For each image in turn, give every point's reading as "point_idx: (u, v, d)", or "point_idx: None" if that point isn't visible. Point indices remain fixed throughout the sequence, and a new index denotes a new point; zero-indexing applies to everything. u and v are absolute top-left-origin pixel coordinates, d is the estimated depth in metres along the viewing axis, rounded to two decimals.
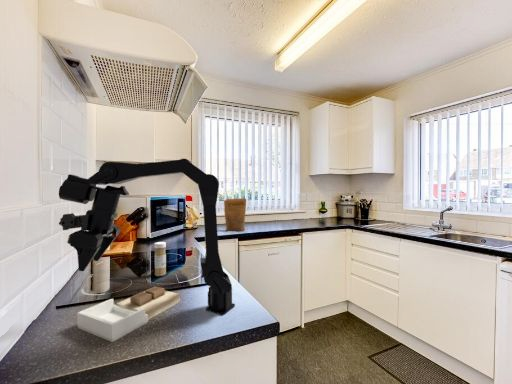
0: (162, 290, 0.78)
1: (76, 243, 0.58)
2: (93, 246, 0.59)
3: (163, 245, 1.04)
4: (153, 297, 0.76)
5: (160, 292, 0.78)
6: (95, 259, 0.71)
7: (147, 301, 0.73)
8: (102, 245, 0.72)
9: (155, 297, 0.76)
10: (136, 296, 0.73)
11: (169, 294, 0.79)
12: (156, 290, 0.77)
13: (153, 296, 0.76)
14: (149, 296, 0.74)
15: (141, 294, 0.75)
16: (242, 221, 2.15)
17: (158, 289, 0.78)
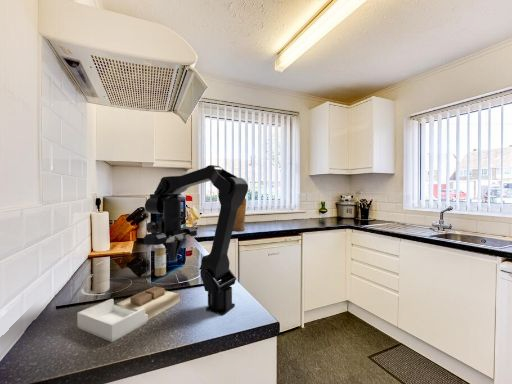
0: (162, 290, 0.78)
1: (147, 242, 0.77)
2: (155, 244, 0.75)
3: (163, 245, 1.04)
4: (153, 297, 0.76)
5: (160, 292, 0.78)
6: None
7: (147, 301, 0.73)
8: None
9: (155, 297, 0.76)
10: (136, 296, 0.73)
11: (169, 294, 0.79)
12: (156, 290, 0.77)
13: (153, 296, 0.76)
14: (149, 296, 0.74)
15: (141, 294, 0.75)
16: (242, 221, 2.15)
17: (158, 289, 0.78)
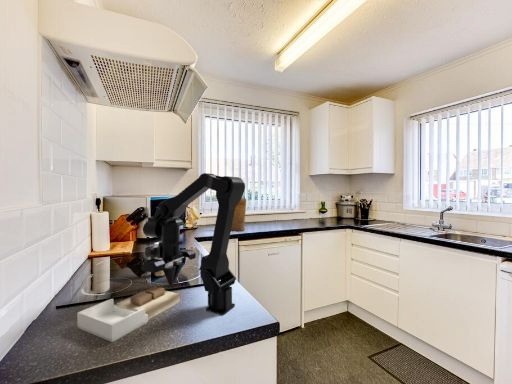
0: (162, 290, 0.78)
1: (145, 269, 0.76)
2: (154, 271, 0.75)
3: None
4: (153, 297, 0.76)
5: (160, 292, 0.78)
6: None
7: (147, 301, 0.73)
8: None
9: (155, 297, 0.76)
10: (136, 296, 0.73)
11: (169, 294, 0.79)
12: (156, 290, 0.77)
13: (153, 296, 0.76)
14: (149, 296, 0.74)
15: (141, 294, 0.75)
16: (242, 221, 2.15)
17: (158, 289, 0.78)
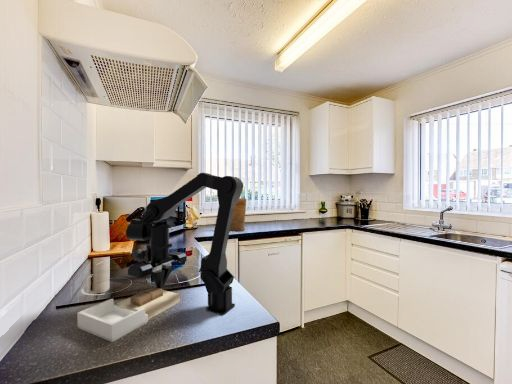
0: (160, 291, 0.78)
1: (131, 274, 0.72)
2: (140, 276, 0.71)
3: None
4: None
5: (158, 293, 0.77)
6: None
7: (147, 301, 0.73)
8: None
9: (153, 298, 0.75)
10: (136, 296, 0.73)
11: (169, 294, 0.79)
12: (154, 291, 0.77)
13: None
14: (149, 296, 0.74)
15: (141, 294, 0.75)
16: (242, 221, 2.15)
17: (156, 290, 0.78)
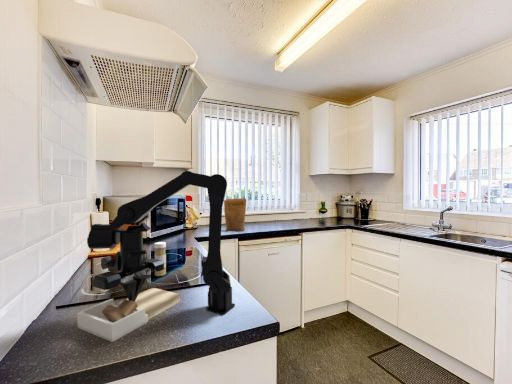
0: (133, 304, 0.69)
1: (96, 286, 0.63)
2: (105, 288, 0.62)
3: (163, 245, 1.04)
4: None
5: (131, 308, 0.69)
6: None
7: (119, 312, 0.65)
8: None
9: None
10: (110, 319, 0.66)
11: (169, 294, 0.79)
12: (126, 308, 0.68)
13: (125, 316, 0.67)
14: (115, 315, 0.64)
15: (107, 316, 0.65)
16: (242, 221, 2.15)
17: (128, 305, 0.69)
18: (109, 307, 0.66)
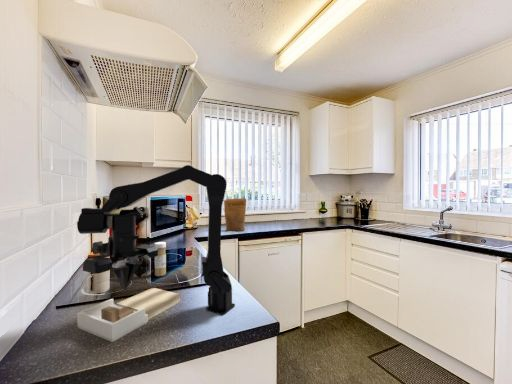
0: (130, 312, 0.68)
1: (86, 270, 0.61)
2: (95, 272, 0.60)
3: (163, 245, 1.04)
4: None
5: None
6: None
7: (117, 315, 0.65)
8: None
9: None
10: None
11: (169, 294, 0.79)
12: (123, 313, 0.67)
13: None
14: (113, 314, 0.64)
15: (104, 315, 0.65)
16: (242, 221, 2.15)
17: (126, 311, 0.68)
18: (110, 307, 0.66)
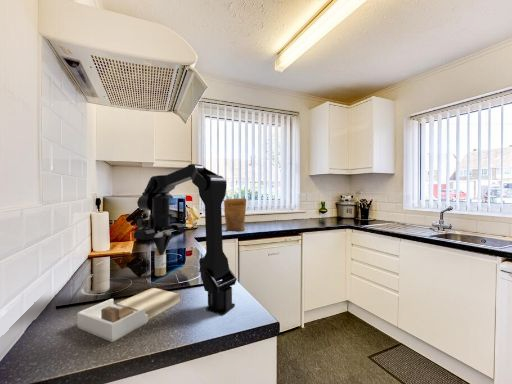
0: (130, 312, 0.68)
1: (136, 237, 0.83)
2: (144, 238, 0.81)
3: None
4: None
5: None
6: None
7: (117, 315, 0.65)
8: None
9: None
10: None
11: (169, 294, 0.79)
12: (123, 313, 0.67)
13: None
14: (113, 314, 0.64)
15: (104, 315, 0.65)
16: (242, 221, 2.15)
17: (126, 311, 0.68)
18: (110, 307, 0.66)
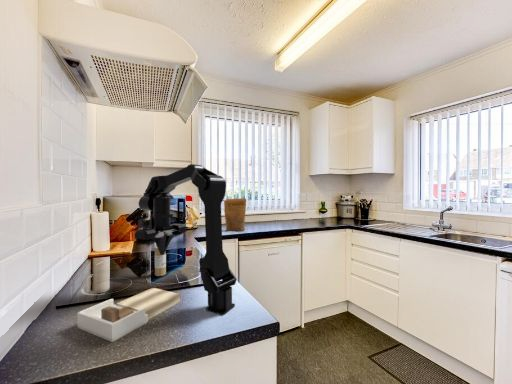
0: (130, 312, 0.68)
1: (137, 237, 0.83)
2: (145, 238, 0.82)
3: None
4: None
5: None
6: None
7: (117, 315, 0.65)
8: None
9: None
10: None
11: (169, 294, 0.79)
12: (123, 313, 0.67)
13: None
14: (113, 314, 0.64)
15: (104, 315, 0.65)
16: (242, 221, 2.15)
17: (126, 311, 0.68)
18: (110, 307, 0.66)
